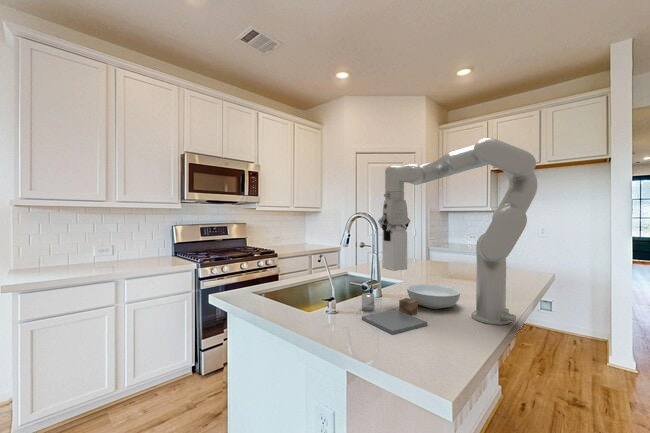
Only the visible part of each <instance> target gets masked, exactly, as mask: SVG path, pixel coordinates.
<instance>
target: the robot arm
mask: <svg viewBox="0 0 650 433" xmlns="http://www.w3.org/2000/svg"><path fill="white" fill-rule="evenodd" d="M486 166H492V167H494V168H497V169H498V170H501V171H503V174H504V175H505V177H507V179H508V183H509V184H508V185H509V186H508V188H507V191H506V192H505V194H504V196H503V198H502V200H501V201H500V203H499V205H498V206H497V208H496V209H495V211H494V212H493V214H492V217H491V219H492V220H491V222H490V224H489V226H488V228H486V231H485V233H482V234H481V235H480V236H479V237H478V239H477V240H476V244H475V246H476V247H475V251H476V252H475V254H476V283H475V284H476V288H475V289H476V291H475V292H476V293H475V294H476V296H475V301H476V302H475V307H476V308H475V310H474V311H471V318H472V319H474V320H476V321H477V322H481V323H485V324H490V325H497V326H498V325H499V326H500V325H501V326H502V325H508V324H510V323H511V322H512V323H516V321H517V315H516V314H513V313H510V312H509V310H510V309H509V308H507V307H506V306H507V301H506V300H507V296H506V295H507V258H508V256H510V254H511V253H512V251H513V249H514V248H515V246H516V245H517V243H518V241H519V239H520V237H521V236H522V234H523V232H524V230H526V229H525V228H526V226H527V223H528V216H527V214H526V213H527V212H528V210H529V208H530V206H531V204H532V203H533V200H534V198H535V197H536V194H537V190H538V179H537V175H536V173H535V169H536V166H537V159H536V157H535V156H534V155H533V154H532V153H531V152H529V151H527V150H525V149H522V148H520V147H517V146H515V145H511V144H510V143H507V142H504V141H503V140H500V139H497V138H493V137H484V138H481V139H479V140H478V141H477V142H476V143H475V144H472V145H469V146H465V147H461V148H459V149H456V150H452V151H449V152H447V153H445V154H443V155H442V156H441V157H440V158H438V159H436V160H433V161H431V162H427V163H424V164H421V165H420V164H418V163H408V164H404V165H390V166H387V167H385V168H384V169H385V170H384V179H385V180H384V188H385V189H384V194H383V197H384V201H383V206H382V216H381V217H380V218H379V219H378V221H377V222H378V225H379V226H380V228H381V230H382V232H383V231H384V241H390V231H389V229H390V227H391V225H402V226H403V227H404V229H405V230H406V231H408V230H407V229H408V227H409V225H410V224H411V223H410V222H411V219H410V218H409V217H408V212H409V211H408V204H407V202H406V200H405V183H408V184H410V185H416V186H417V185H421V184H425V183H429V182H433V181H436V180H439V179H442V178H445V177H450V176H453V175H456V174H457V175H458V174H459V173H464V172H467V171H470V170H475V169H478V168H482V167H486ZM387 225H388V226H387Z"/></svg>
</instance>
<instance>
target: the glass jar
mask: <svg viewBox="0 0 650 433" xmlns="http://www.w3.org/2000/svg"><path fill="white" fill-rule="evenodd" d="M361 311H363V312H368V313H369V312H370V313H371V312H374V311H375V294H374V293H369V292H365V293H364V292H363V293H362V294H361Z"/></svg>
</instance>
